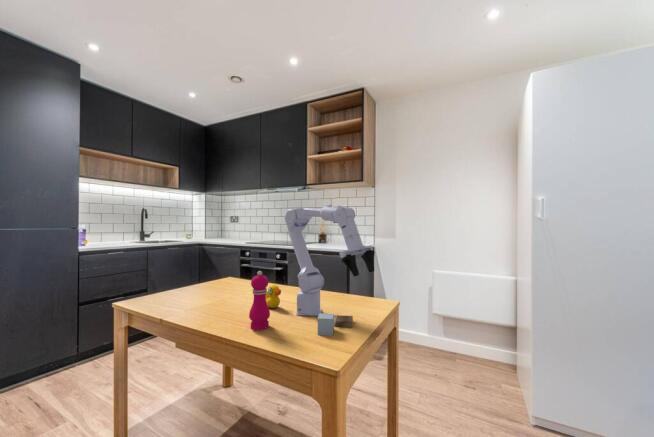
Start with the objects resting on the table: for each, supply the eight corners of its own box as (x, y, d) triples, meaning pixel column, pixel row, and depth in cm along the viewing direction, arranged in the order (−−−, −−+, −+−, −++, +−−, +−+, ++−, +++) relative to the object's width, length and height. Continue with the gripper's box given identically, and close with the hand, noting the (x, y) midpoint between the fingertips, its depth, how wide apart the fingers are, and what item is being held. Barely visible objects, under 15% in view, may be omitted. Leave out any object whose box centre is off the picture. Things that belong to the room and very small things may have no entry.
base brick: (335, 326, 98) (335, 321, 98) (336, 320, 104) (336, 315, 104) (352, 327, 97) (352, 321, 97) (352, 321, 103) (352, 315, 103)
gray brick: (317, 334, 91) (317, 318, 91) (319, 329, 96) (319, 313, 96) (332, 335, 90) (332, 318, 91) (333, 329, 95) (333, 313, 96)
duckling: (285, 309, 117) (285, 286, 118) (274, 312, 114) (274, 288, 114) (271, 303, 126) (271, 281, 126) (260, 306, 122) (260, 283, 122)
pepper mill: (259, 332, 93) (259, 273, 93) (244, 328, 97) (244, 271, 97) (274, 325, 99) (274, 270, 99) (259, 321, 103) (259, 268, 103)
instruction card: (320, 325, 99) (320, 324, 99) (323, 317, 107) (323, 316, 107) (334, 325, 99) (334, 324, 99) (336, 317, 107) (336, 317, 107)
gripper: (343, 236, 92) (356, 275, 89) (373, 231, 101) (386, 266, 97) (331, 242, 98) (343, 280, 94) (361, 238, 106) (372, 271, 103)
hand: (364, 273), depth 96 cm, fingers open, 7 cm apart
